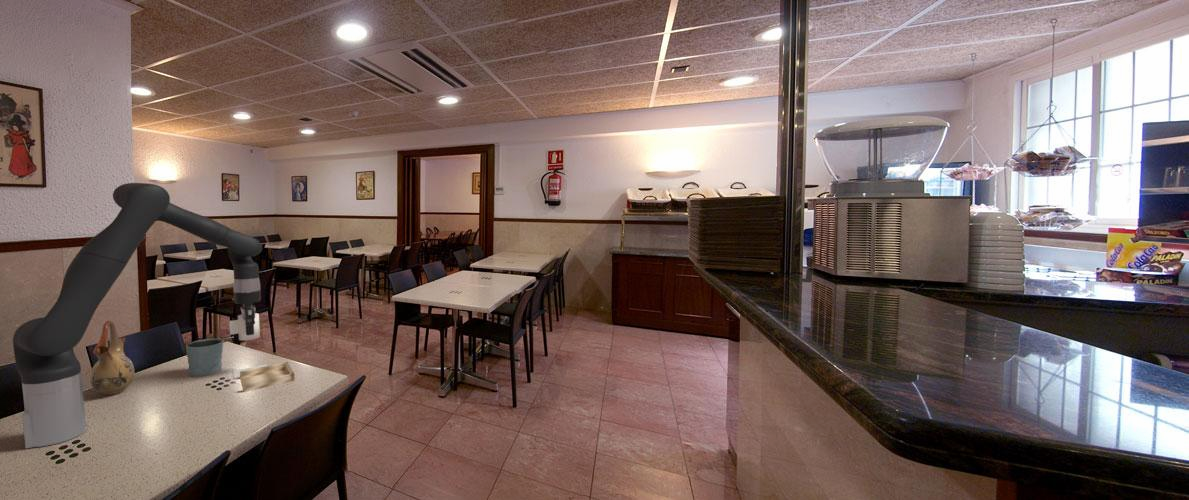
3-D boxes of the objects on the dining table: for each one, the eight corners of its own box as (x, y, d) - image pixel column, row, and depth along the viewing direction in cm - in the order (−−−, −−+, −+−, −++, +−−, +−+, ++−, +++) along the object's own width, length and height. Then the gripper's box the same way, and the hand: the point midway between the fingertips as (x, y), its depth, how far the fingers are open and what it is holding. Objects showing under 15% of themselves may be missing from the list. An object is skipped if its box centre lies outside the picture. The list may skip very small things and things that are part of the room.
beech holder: (243, 393, 132) (243, 385, 131) (240, 379, 142) (239, 371, 142) (294, 381, 142) (294, 373, 141) (287, 369, 152) (287, 362, 152)
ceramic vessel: (125, 398, 125) (119, 325, 123) (81, 406, 120) (74, 329, 117) (142, 380, 138) (137, 313, 136) (103, 386, 133) (97, 316, 130)
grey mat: (234, 381, 140) (234, 379, 140) (232, 372, 147) (232, 371, 147) (270, 373, 148) (269, 372, 148) (266, 365, 154) (266, 364, 154)
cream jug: (231, 342, 140) (229, 319, 139) (230, 338, 144) (228, 315, 143) (260, 338, 146) (259, 315, 145) (259, 334, 150) (258, 312, 149)
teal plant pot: (196, 369, 149) (194, 339, 148) (229, 366, 153) (228, 337, 152) (181, 380, 140) (179, 348, 138) (217, 376, 144) (216, 345, 143)
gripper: (232, 287, 146) (234, 330, 148) (235, 294, 137) (237, 339, 138) (258, 285, 152) (260, 326, 153) (262, 291, 142) (264, 335, 144)
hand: (249, 332), depth 146 cm, fingers closed on cream jug, 6 cm apart
